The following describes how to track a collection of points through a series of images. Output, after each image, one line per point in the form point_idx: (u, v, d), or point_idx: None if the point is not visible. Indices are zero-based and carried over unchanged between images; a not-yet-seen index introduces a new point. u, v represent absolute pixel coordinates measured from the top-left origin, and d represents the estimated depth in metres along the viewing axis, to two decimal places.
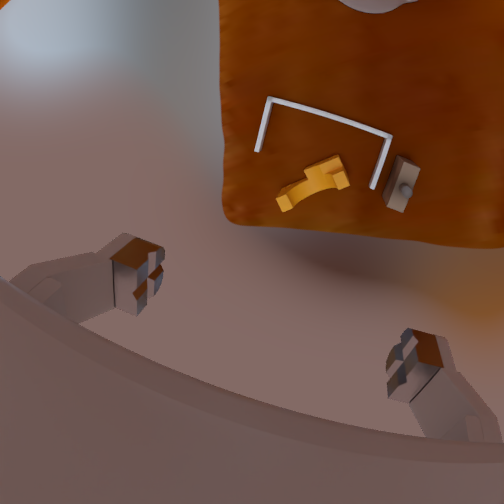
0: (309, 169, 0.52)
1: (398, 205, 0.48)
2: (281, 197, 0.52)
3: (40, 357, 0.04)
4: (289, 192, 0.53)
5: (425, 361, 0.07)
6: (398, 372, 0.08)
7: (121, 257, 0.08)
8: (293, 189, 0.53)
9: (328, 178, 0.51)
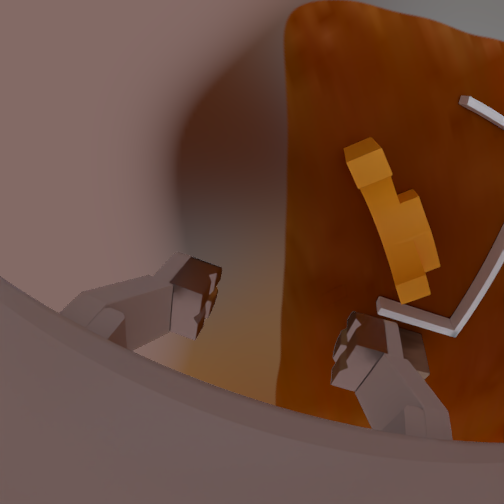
0: (420, 207, 0.23)
1: None
2: (384, 162, 0.19)
3: (40, 357, 0.04)
4: None
5: (365, 345, 0.08)
6: (341, 357, 0.09)
7: (182, 281, 0.08)
8: (388, 178, 0.21)
9: (405, 250, 0.24)
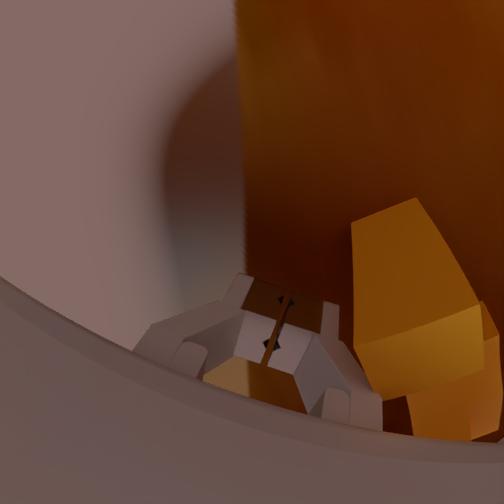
0: (495, 352, 0.09)
1: None
2: (474, 342, 0.05)
3: (40, 357, 0.04)
4: None
5: (295, 323, 0.08)
6: (277, 337, 0.09)
7: (253, 305, 0.08)
8: None
9: (450, 427, 0.10)
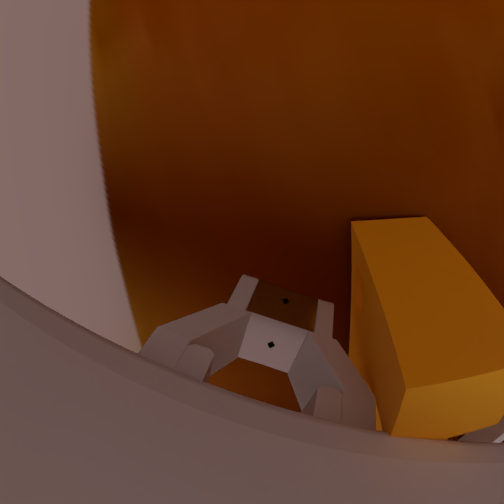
0: None
1: None
2: None
3: (40, 357, 0.04)
4: None
5: (289, 322, 0.08)
6: None
7: (258, 307, 0.08)
8: None
9: None
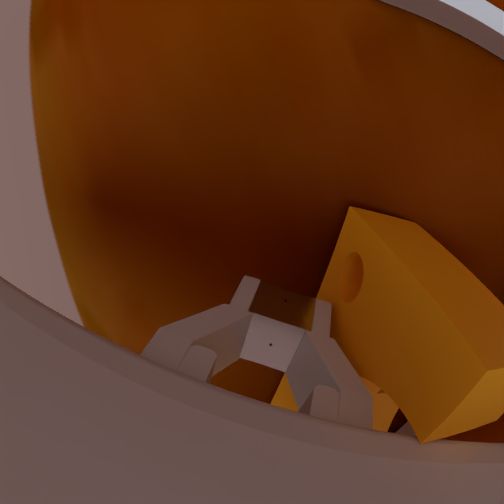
0: (396, 405, 0.11)
1: None
2: None
3: (40, 357, 0.04)
4: None
5: (286, 321, 0.08)
6: None
7: (261, 308, 0.08)
8: None
9: None
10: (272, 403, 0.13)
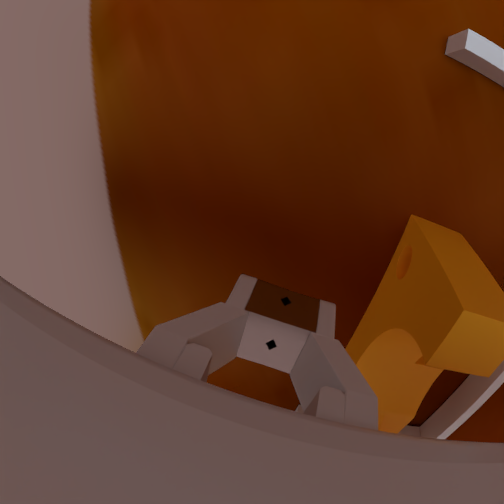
0: (430, 381, 0.13)
1: None
2: (503, 353, 0.06)
3: (40, 357, 0.04)
4: None
5: (291, 322, 0.08)
6: None
7: (257, 307, 0.08)
8: None
9: None
10: None
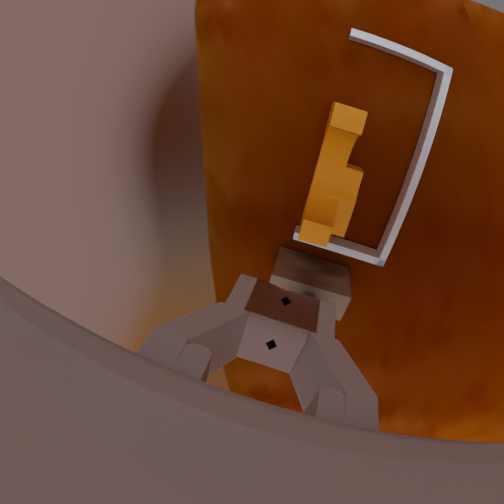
0: (358, 181, 0.28)
1: None
2: (362, 122, 0.22)
3: (40, 357, 0.04)
4: (355, 135, 0.24)
5: (291, 322, 0.08)
6: None
7: (257, 307, 0.08)
8: (352, 140, 0.25)
9: (326, 202, 0.28)
10: None
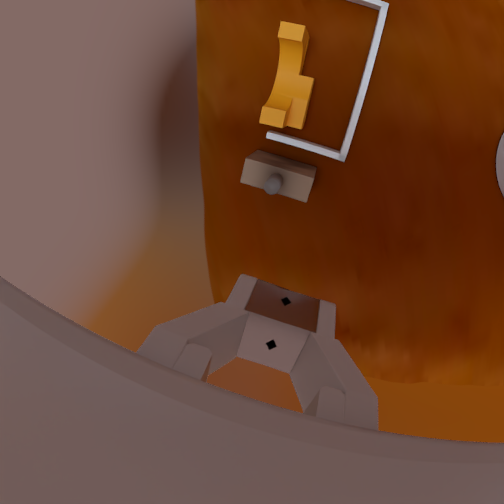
0: (310, 85, 0.33)
1: (249, 175, 0.36)
2: (301, 33, 0.27)
3: (40, 357, 0.04)
4: (300, 45, 0.29)
5: (291, 322, 0.08)
6: None
7: (257, 306, 0.08)
8: (300, 51, 0.30)
9: (283, 99, 0.34)
10: None
